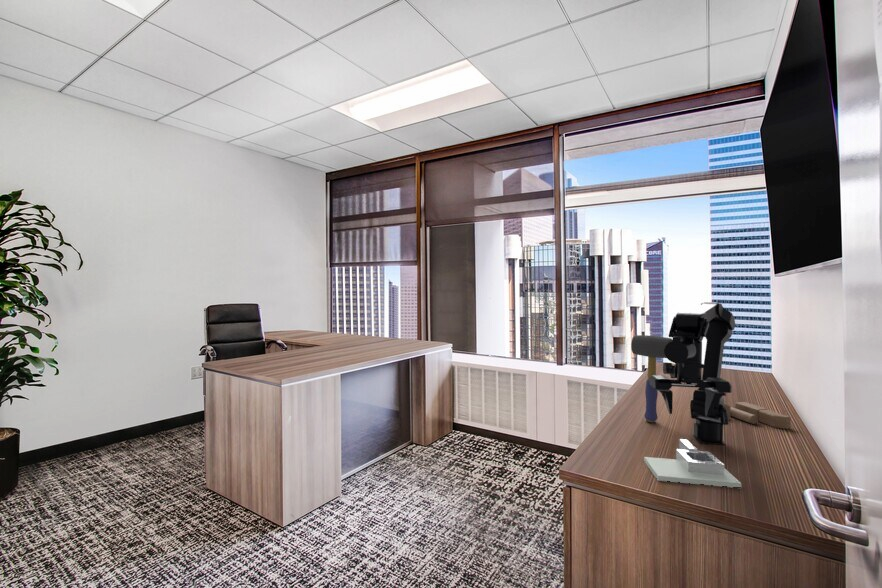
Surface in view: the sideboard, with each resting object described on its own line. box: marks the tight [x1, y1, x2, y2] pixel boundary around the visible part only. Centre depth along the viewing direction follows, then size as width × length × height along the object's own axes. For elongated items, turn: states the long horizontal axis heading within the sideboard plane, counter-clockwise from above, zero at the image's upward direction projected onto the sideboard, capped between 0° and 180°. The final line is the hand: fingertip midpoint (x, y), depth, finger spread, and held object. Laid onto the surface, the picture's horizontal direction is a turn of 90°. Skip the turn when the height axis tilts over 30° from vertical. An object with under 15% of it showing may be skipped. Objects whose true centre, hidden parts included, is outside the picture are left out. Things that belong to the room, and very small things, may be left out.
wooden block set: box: [724, 401, 791, 430], centre depth 142 cm, size 17×6×18 cm
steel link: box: [675, 438, 725, 475], centre depth 107 cm, size 14×8×3 cm, turn 169°
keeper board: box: [643, 452, 742, 488], centre depth 102 cm, size 18×11×5 cm, turn 79°
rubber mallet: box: [630, 334, 673, 423], centre depth 141 cm, size 12×8×30 cm, turn 46°
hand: (688, 414), depth 112 cm, fingers open, 9 cm apart
